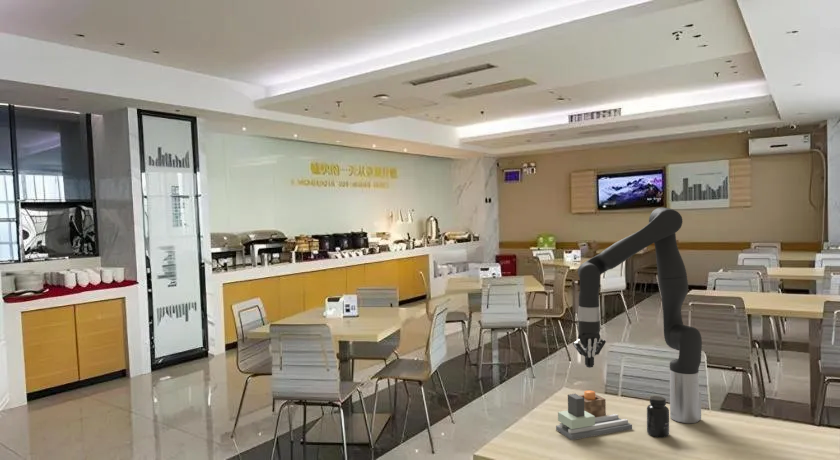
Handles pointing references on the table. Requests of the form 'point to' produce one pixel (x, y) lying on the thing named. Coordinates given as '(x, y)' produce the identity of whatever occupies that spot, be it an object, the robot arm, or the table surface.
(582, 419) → the carriage
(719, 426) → the table surface
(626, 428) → the track
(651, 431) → the supplement bottle
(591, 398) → the button
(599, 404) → the cabinet
